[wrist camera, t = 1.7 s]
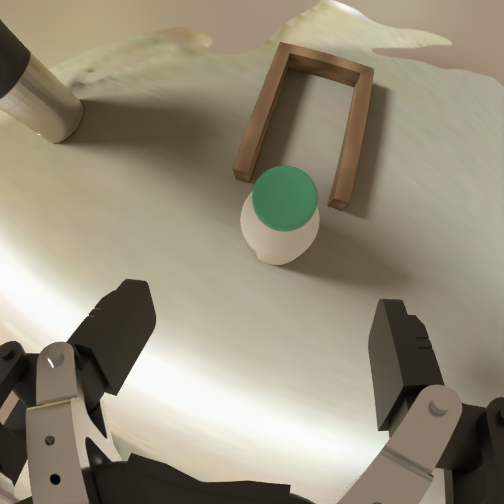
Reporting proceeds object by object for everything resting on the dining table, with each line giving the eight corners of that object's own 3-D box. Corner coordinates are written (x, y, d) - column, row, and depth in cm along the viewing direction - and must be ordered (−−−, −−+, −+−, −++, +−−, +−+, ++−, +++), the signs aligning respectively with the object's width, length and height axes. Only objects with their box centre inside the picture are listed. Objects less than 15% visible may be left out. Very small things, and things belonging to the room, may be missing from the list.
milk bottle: (313, 219, 41) (353, 165, 21) (293, 273, 40) (320, 268, 20) (258, 199, 41) (251, 130, 21) (238, 253, 41) (211, 228, 21)
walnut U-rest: (235, 178, 41) (232, 168, 37) (279, 57, 43) (280, 42, 39) (341, 210, 40) (349, 203, 36) (367, 82, 42) (374, 68, 38)
